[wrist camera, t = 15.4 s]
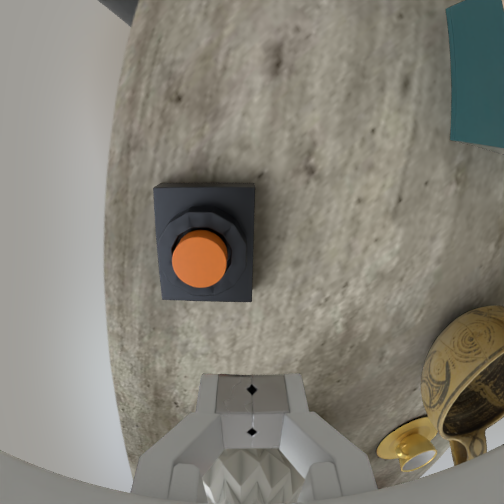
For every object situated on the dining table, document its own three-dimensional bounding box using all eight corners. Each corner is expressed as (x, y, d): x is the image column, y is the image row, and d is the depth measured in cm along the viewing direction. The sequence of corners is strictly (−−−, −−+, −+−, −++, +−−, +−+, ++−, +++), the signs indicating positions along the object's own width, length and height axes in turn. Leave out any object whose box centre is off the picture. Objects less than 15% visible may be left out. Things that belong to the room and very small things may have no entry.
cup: (451, 419, 40) (463, 440, 35) (404, 459, 44) (412, 480, 39) (413, 409, 38) (426, 435, 33) (361, 454, 41) (369, 479, 36)
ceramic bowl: (429, 261, 29) (520, 344, 15) (522, 260, 29) (597, 315, 15) (382, 409, 37) (416, 495, 23) (470, 389, 37) (512, 453, 23)
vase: (298, 402, 35) (319, 537, 18) (297, 463, 41) (309, 562, 24) (169, 409, 36) (144, 536, 18) (196, 468, 42) (187, 565, 24)
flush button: (175, 229, 24) (170, 236, 22) (227, 229, 24) (226, 237, 22) (178, 277, 25) (174, 287, 23) (227, 278, 25) (226, 288, 23)
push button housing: (160, 183, 26) (146, 191, 22) (254, 183, 26) (255, 191, 22) (167, 288, 29) (157, 310, 26) (251, 290, 30) (252, 313, 26)
